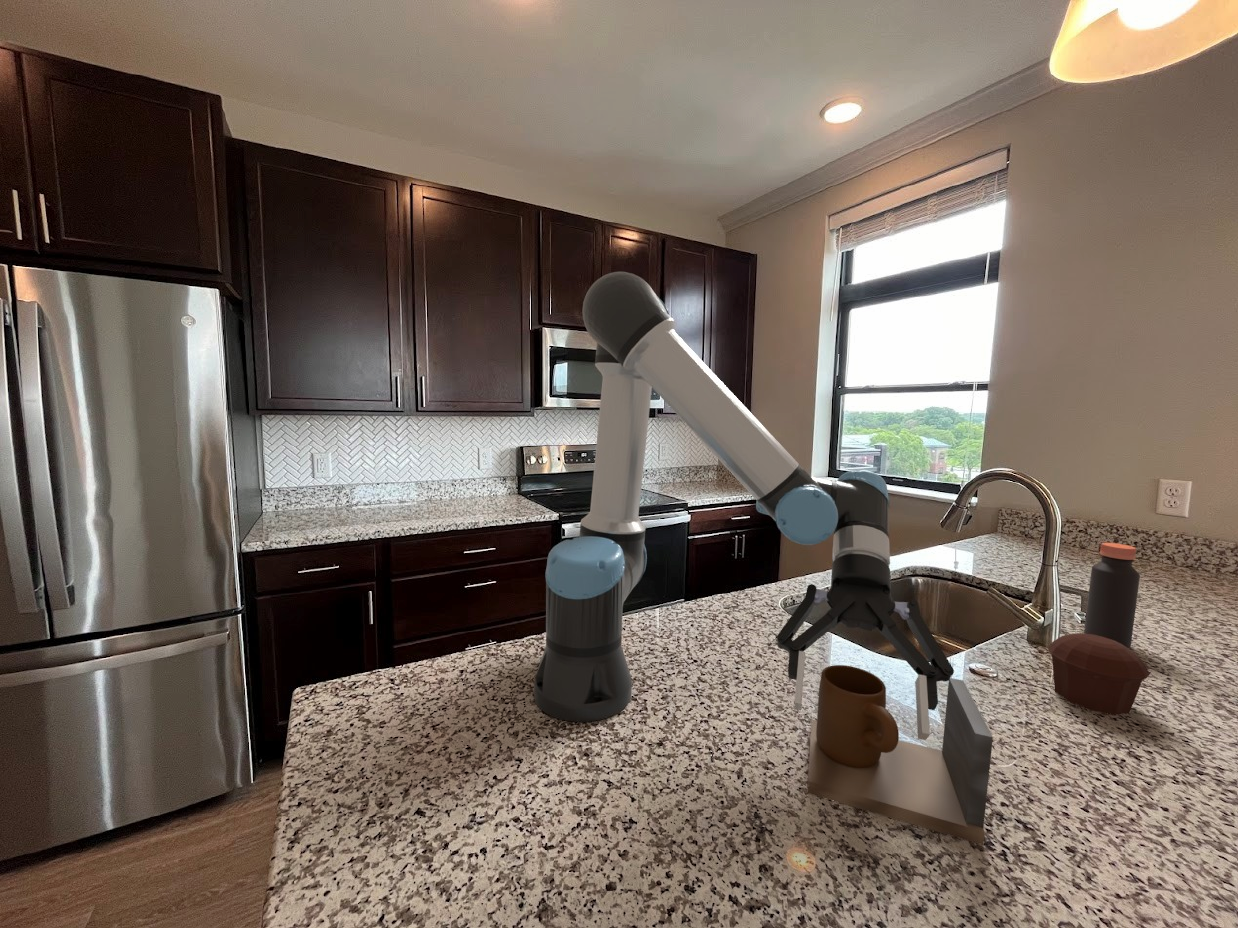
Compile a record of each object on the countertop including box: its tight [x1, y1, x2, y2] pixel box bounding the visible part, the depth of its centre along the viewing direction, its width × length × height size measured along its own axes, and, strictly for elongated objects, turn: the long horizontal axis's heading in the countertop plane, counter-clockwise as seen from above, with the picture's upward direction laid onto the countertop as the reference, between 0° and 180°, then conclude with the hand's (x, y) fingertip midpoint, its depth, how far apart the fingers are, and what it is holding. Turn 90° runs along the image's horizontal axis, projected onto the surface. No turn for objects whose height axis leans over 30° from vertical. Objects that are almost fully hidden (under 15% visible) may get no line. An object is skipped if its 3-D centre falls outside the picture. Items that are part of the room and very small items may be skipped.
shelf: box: [807, 677, 994, 846], centre depth 60 cm, size 17×13×12 cm
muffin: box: [1046, 632, 1151, 717], centre depth 78 cm, size 12×11×10 cm
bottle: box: [1083, 542, 1141, 649], centre depth 99 cm, size 7×7×20 cm
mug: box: [816, 664, 900, 768], centre depth 60 cm, size 12×8×9 cm, turn 7°
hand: (858, 721), depth 59 cm, fingers open, 13 cm apart
